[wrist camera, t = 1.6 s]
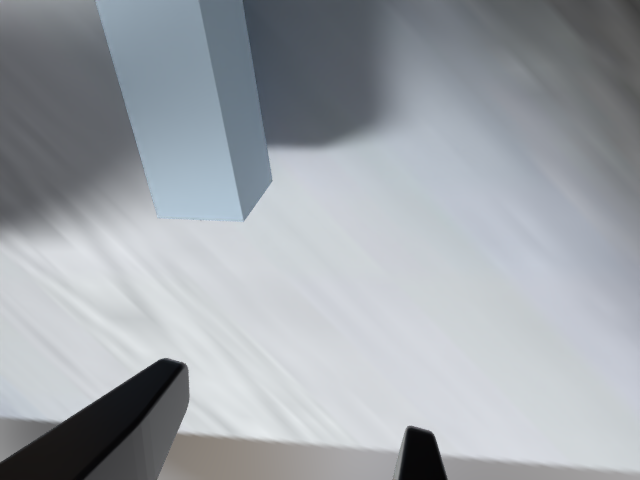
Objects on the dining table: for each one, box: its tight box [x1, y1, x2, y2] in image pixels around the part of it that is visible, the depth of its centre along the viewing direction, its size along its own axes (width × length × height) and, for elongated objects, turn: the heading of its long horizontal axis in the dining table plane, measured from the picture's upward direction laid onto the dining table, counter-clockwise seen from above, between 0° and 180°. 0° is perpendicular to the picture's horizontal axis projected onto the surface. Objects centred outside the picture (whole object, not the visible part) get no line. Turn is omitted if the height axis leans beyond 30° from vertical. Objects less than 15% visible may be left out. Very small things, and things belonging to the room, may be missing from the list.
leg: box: [95, 0, 272, 222], centre depth 17 cm, size 11×3×3 cm, turn 7°
